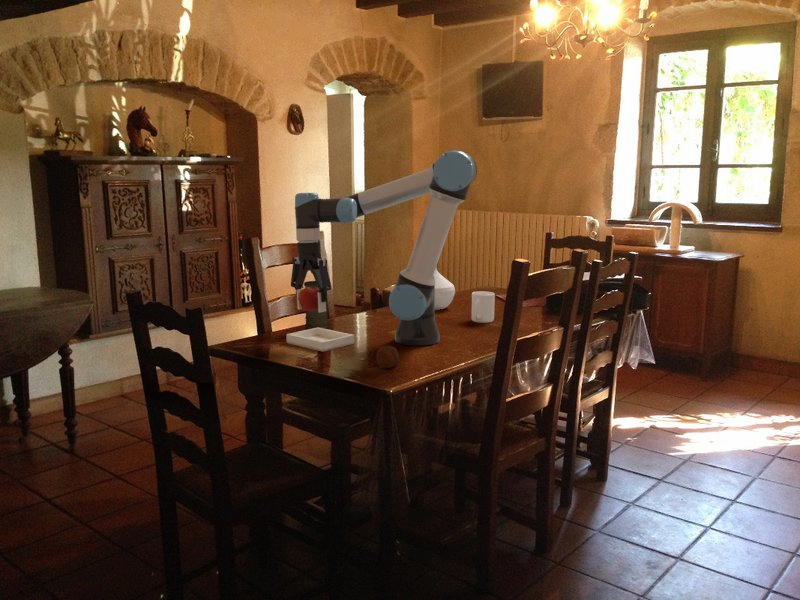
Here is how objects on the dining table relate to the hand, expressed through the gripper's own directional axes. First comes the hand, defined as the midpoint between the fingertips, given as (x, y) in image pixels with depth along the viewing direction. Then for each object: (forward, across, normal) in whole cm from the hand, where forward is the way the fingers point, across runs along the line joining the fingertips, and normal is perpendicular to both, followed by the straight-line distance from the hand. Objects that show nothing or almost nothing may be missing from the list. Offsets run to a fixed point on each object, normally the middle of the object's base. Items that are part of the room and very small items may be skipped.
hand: (311, 310), depth 229 cm
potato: (+13, -35, +4) cm, 37 cm away
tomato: (0, 0, 0) cm, 1 cm away
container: (+12, +14, -16) cm, 24 cm away
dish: (+12, +1, -4) cm, 13 cm away
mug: (+13, -22, -67) cm, 72 cm away
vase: (+13, +9, -77) cm, 79 cm away
